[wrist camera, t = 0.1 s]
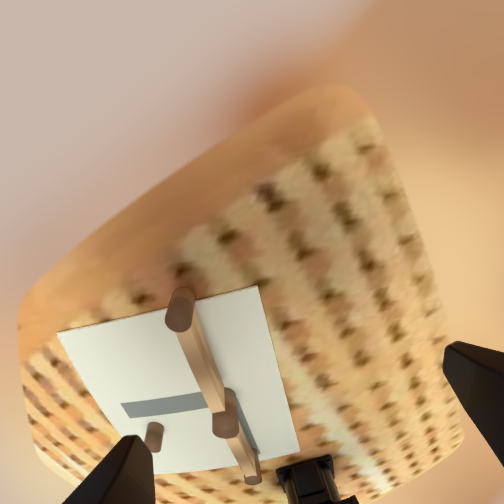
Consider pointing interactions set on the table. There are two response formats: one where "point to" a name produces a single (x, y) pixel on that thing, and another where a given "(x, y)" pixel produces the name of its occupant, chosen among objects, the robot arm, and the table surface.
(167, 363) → the card
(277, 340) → the table surface
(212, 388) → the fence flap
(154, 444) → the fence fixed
